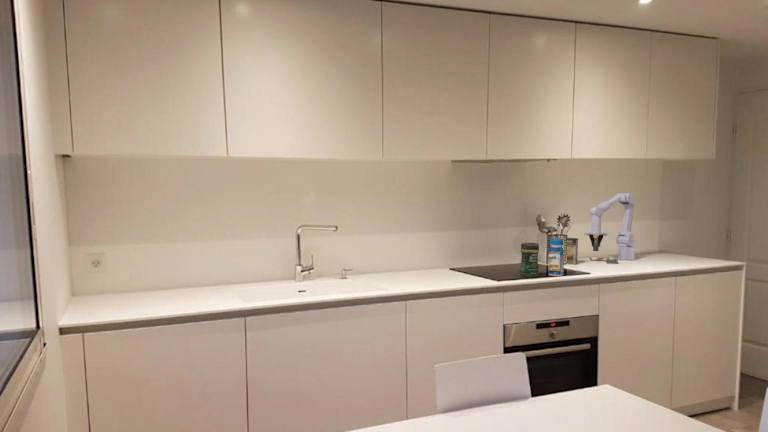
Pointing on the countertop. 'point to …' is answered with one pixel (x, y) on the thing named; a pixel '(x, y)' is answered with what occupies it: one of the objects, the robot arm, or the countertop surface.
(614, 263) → the button housing
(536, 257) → the coffee jar
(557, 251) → the blue labeled canister
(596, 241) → the marker
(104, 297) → the countertop surface
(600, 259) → the board
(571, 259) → the coffee box
